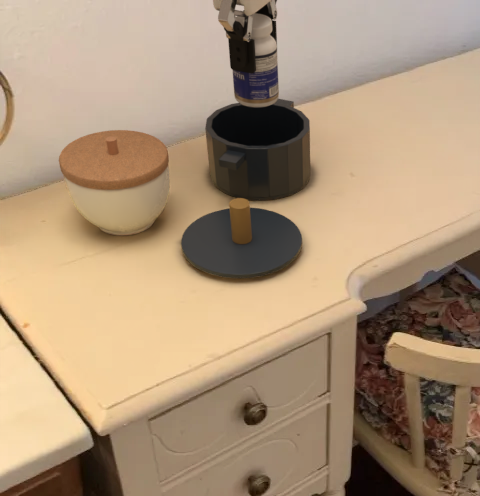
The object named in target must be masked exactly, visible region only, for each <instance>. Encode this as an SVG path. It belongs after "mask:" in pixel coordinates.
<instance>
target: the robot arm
mask: <svg viewBox="0 0 480 496" xmlns="http://www.w3.org/2000/svg"><path fill="white" fill-rule="evenodd" d="M277 2H278V0H212V4H213V8H214V9H215V10H216V11H218V15H217V20H218V23H219V24H220V25H221V26H222V27H223V30H224V31H225V37H226V39H227V40H228V53H229V67H230V69H231V70H232V71H233V70H235V71H241V72H246V73H251V74H253V73H254V72H255V71H256V58H255V40H254V39H251V33H252V21H253V14H254V13H256V14H262V15H266V16H268V17H269V18H270V19H271V20H272V32H271V33H270V36H272V37H273V38H274V39H275V41H276V44H277V45H278V37H277V36H278V35H277V34H278V33H277V32H278V31H277V17H278V10H277ZM237 6H242V7H243V10H238V9H236V7H237ZM237 16H240V17H245V18H244V27H243V26H242V25H241V23H240V22H238V21H236V19H235V17H237Z"/></svg>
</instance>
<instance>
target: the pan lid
mask: <svg viewBox="0 0 480 496" xmlns="http://www.w3.org/2000/svg"><path fill="white" fill-rule="evenodd" d="M228 207H229V208H224V209H223V208H222V209H219V210H215V211H211V212H210V213H206V214H204V215H202V216H200V217H199V218H196V220H194V221H192V222H191V223H190V224H189V225H188V226H187V227H186V229H185V230H184V232H183V234H182V236H181V240H180V241H181V243H180V246H181V251H182V254H183V256H184V258H185V259H186V260H187V262H188V263H190V264H191V266H193V267H195V268H196V269H198V270H200V271H202V272H204V273H206V274H209V275H212V276H215V277H221V278H227V279H251V278H258V277H263V276H268V275H271V274H273V273H276V272H279V271H281V270H283V269H284V268H286V267H287V266H289V265H290V264H292V263H293V262H295V260H296V259H297V258H298V256H299V255H300V253H301V250H302V248H303V236H302V232H301V230H300V229H299V227H298V226H297V225H296V223H295V222H294V221H293V220H292V219H290V218H288V217H287V216H285V215H283V214H280V213H278V212H276V211H273V210H270V209H265V208H260V207H259V208H258V207H251V204H250V200H247V199H244V198H236V197H235V198H233V199H230V200H229V203H228Z"/></svg>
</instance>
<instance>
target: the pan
mask: <svg viewBox="0 0 480 496" xmlns="http://www.w3.org/2000/svg"><path fill="white" fill-rule="evenodd" d="M310 122H311V121H310V119H309V118H308V117H307V116H306V114H305V113H303V111H302V110H299V109H297V108H295V102H294V101H293V100H288V99H283V98H278V100H277V101H276V102H275V103H274V104H272V105H269V106H266V107H248V106H245V105H242V104H240V103H239V102H235V103H231V104H228V105H225V106H223V107H221V108H218V109H216V110H215V111H213V112H212V113H211V114H210V115H209V116H208V117H207V118H206V121H205V128H204V130H205V138H206V139H205V140H206V150H207V157H208V169H209V175H210V176H209V177H210V179H211V182H212V183H213V185H214V186H215V187H216V188H217V189H218V190H219V191H221V192H222V193H224V194H226V195H228V196H230V197H232V198H235V199H236V198H244V199H247V200H248V201H272V200H274V201H275V200H280V199H284V198H287V197H290V196H292V195H294V194H296V193H298V192H300V191H302V190H303V189H304V188H305V187H306V186H307V185H308V183H309V181H310V178H311V133H310V132H311V127H310V126H311V123H310Z"/></svg>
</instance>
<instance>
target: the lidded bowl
mask: <svg viewBox="0 0 480 496" xmlns="http://www.w3.org/2000/svg"><path fill="white" fill-rule="evenodd" d="M169 162H170V159H169V150H168V148H167V146H166V145H165V143H164V142H163V141H161V140H160V139H159V138H157V137H156V136H154V135H152V134H150V133H145V132H143V131H136V130H128V129H114V130H113V129H112V130H110V129H109V130H103V131H97V132H93V133H90V134H86V135H83V136H81V137H79V138H76V139H75V140H72V141H71V142H69V143H68V144H66V146H65V147H64V148H63V149H62V150H61V152H60V154H59V156H58V165H59V168H60V172H61V174H62V175H63V180H64V183H65V188H66V190H67V192H68V193H67V194H68V195H69V197H70V199H71V201H72V203H73V205H74V208H76V210H77V212H79V214H80V215H81V216H82V218H84V219H85V220H86V221H88V222H89V223H91V224H92V225H94V226H96V227H98V229H99V230H100V231H102V232H103V233H106V234H108V235H112V236H133V235H136V234H140V233H142V232H145V231H147V230H148V229H149V228H151V227H152V226H153V225H154V223H155V222H156V220H157V219H158V218H159V216H160V215H161V214H162V213H163V211H164V210H165V207H166V205H167V203H168V200H169V195H170V188H171V175H170V166H169Z"/></svg>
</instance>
